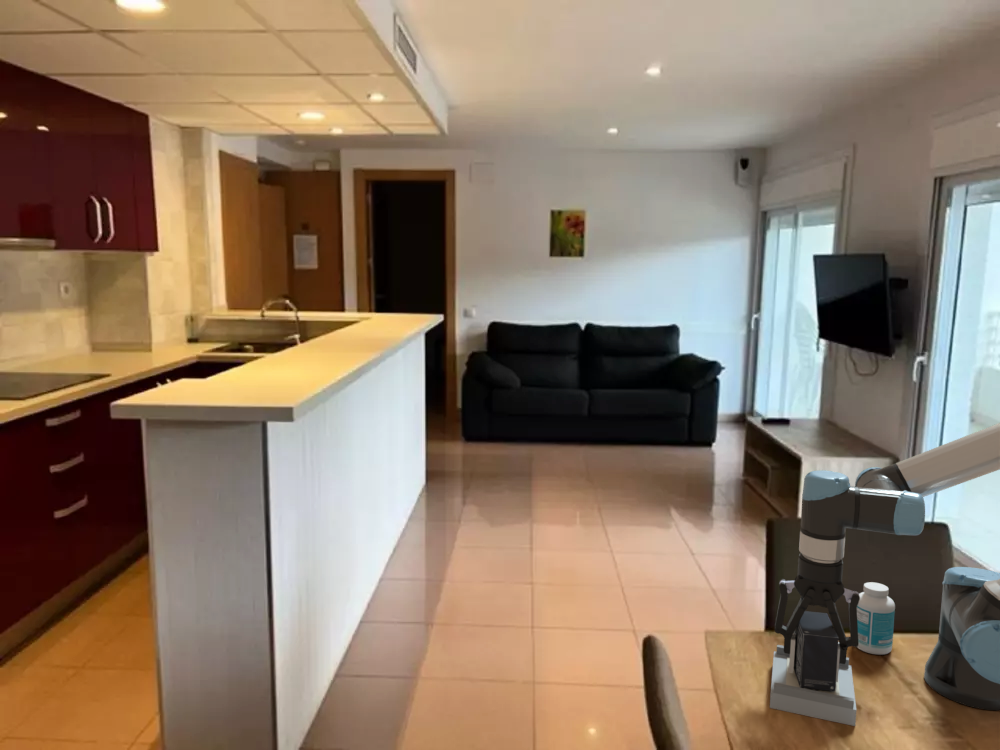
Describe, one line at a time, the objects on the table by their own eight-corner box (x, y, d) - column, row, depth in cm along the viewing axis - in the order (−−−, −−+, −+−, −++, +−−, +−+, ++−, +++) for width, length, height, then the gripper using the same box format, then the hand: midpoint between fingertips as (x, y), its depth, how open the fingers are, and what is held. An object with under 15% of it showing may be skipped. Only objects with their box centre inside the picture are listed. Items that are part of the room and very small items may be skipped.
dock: (849, 680, 142) (851, 658, 142) (855, 726, 128) (857, 702, 127) (773, 665, 148) (774, 644, 147) (769, 707, 133) (771, 684, 132)
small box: (838, 693, 131) (840, 637, 130) (799, 689, 133) (801, 634, 131) (826, 663, 142) (828, 611, 140) (790, 660, 143) (792, 608, 142)
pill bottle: (893, 645, 156) (898, 584, 154) (890, 660, 150) (895, 597, 148) (854, 635, 160) (859, 576, 158) (849, 649, 154) (854, 588, 152)
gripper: (879, 556, 134) (870, 675, 137) (764, 541, 141) (758, 653, 144) (883, 571, 127) (873, 696, 130) (762, 554, 134) (755, 672, 137)
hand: (813, 673), depth 137 cm, fingers closed on small box, 7 cm apart
